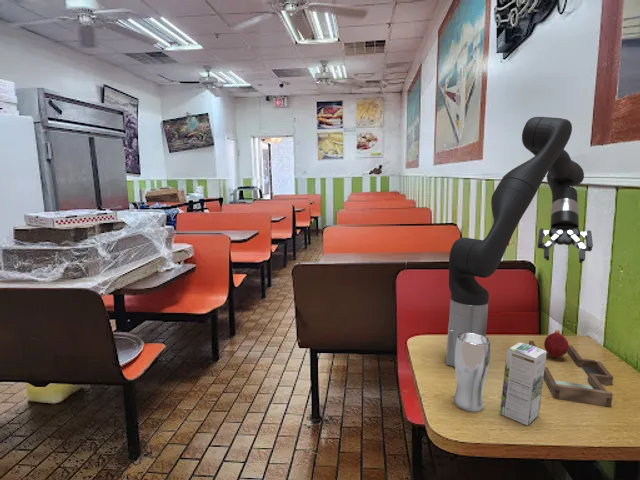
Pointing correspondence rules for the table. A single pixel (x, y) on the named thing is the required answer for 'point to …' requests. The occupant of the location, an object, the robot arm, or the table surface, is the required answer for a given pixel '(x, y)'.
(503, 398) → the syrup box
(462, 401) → the beer glass
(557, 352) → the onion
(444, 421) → the table surface
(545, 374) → the zigzag wooden tray
